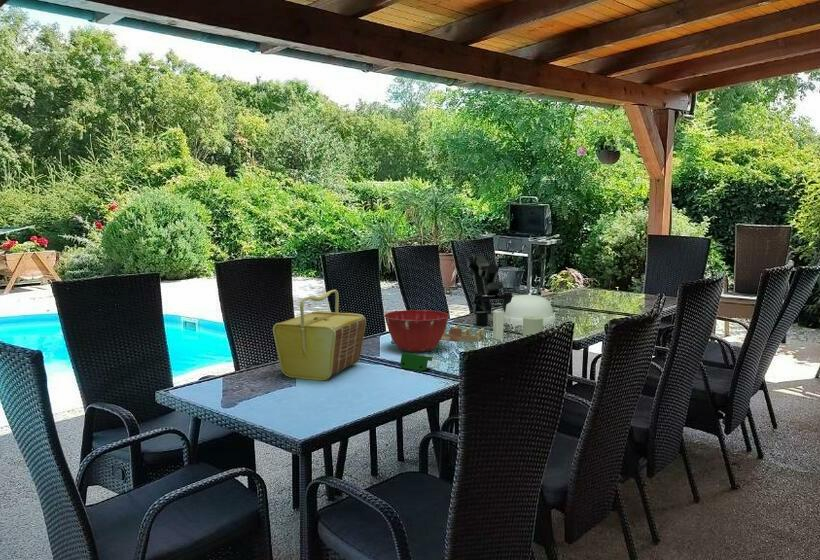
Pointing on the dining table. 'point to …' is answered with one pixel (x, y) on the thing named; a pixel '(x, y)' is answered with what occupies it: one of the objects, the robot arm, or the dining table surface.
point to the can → (532, 324)
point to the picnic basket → (319, 341)
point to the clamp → (414, 361)
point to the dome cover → (528, 309)
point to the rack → (463, 335)
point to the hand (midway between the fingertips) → (495, 311)
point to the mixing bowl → (416, 329)
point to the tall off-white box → (498, 324)
